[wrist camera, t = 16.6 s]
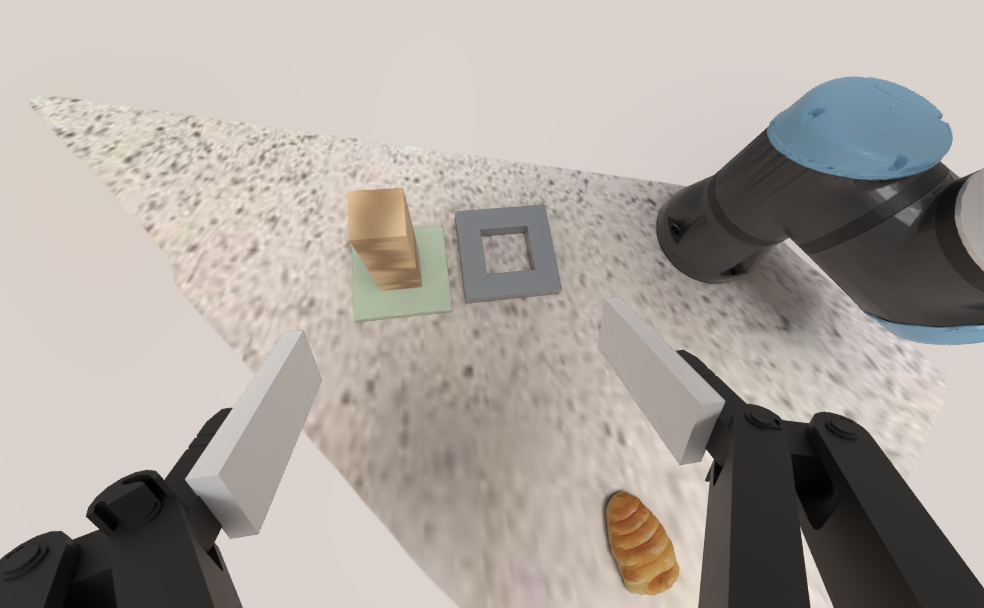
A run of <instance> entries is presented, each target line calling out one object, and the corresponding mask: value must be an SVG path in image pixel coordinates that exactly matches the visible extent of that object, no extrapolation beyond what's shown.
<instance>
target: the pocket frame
mask: <svg viewBox="0 0 984 608" xmlns="http://www.w3.org/2000/svg"><path fill="white" fill-rule="evenodd" d="M455 218H456V227H457V235H458V243H459V251H460V260H461V268H462V276H463V284H464V292H465V300H466V303H475V302H484V301H494V300H503V299H513V298H522V297H531V296H541V295H550V294H558V293H559V291H560V290H561V289H562V288H561V283H560V278H559V273H558V268H557V263H556V258H555V253H554V249H553V244H552V239H551V234H550V229H549V224H548V219H547V214H546V209H545V205H536V206H523V207H509V208H495V209H481V210H468V211H455ZM515 233H525V237H526V243H527V248H528V254H529V260H530V265H531V270H528V271H517V272H507V273H497V274H486V267H485V260H484V253H483V246H482V239H481V236H491V235H503V234H515Z"/></svg>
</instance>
